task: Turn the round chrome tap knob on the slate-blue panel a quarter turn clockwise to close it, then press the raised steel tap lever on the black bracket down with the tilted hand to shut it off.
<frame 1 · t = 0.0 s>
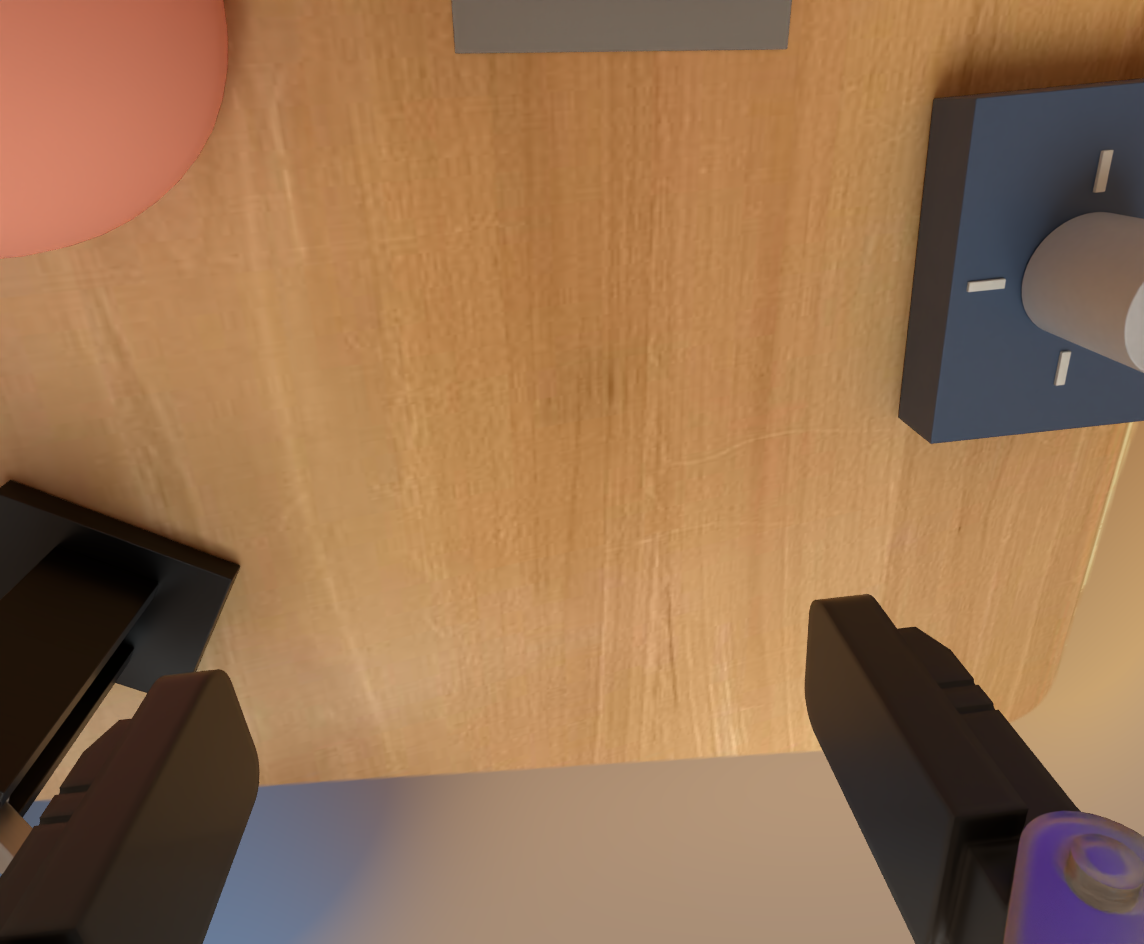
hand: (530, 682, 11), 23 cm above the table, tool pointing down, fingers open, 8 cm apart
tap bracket: (106, 591, 35), on the table
tap panel: (1031, 260, 32), on the table
tap lever: (47, 883, 24), point 14 cm above the table, hinge at 30.0°
tap knob: (1137, 292, 26), point 6 cm above the table, hinge at 0.0°
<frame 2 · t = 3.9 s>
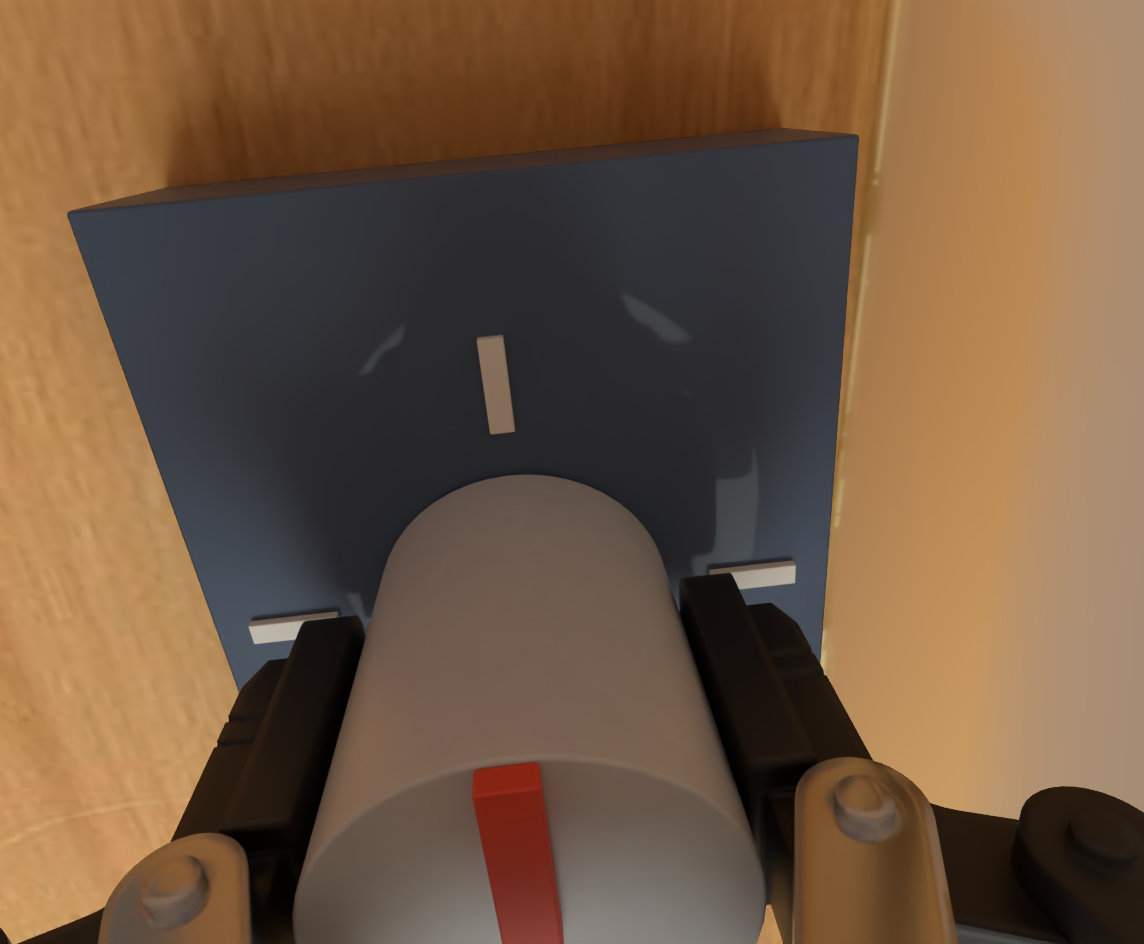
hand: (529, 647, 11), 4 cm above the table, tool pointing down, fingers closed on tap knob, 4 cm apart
tap panel: (523, 510, 15), on the table
tap knob: (529, 733, 10), point 6 cm above the table, hinge at 0.2°, touching gripper
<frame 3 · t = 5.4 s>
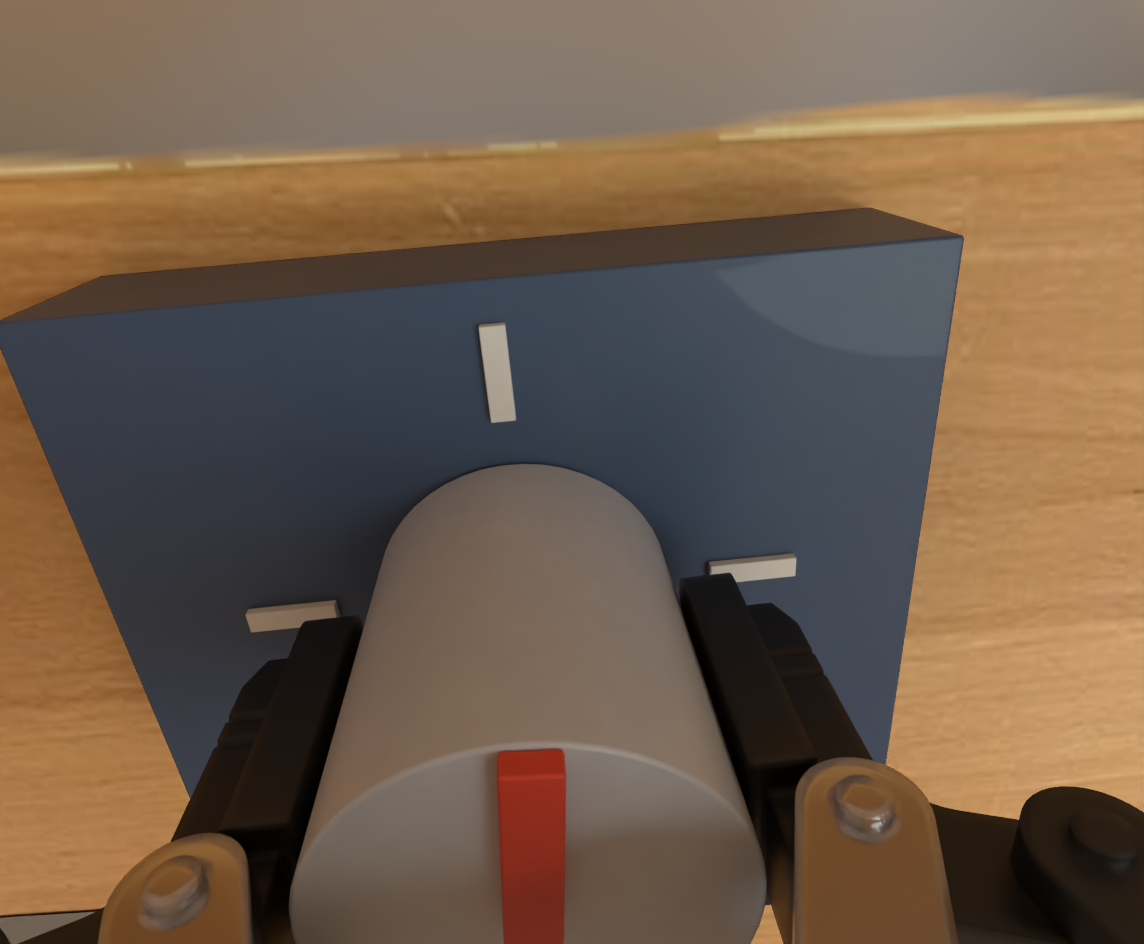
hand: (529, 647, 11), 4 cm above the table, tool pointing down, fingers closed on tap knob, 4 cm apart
tap panel: (522, 501, 15), on the table
tap knob: (528, 723, 10), point 6 cm above the table, hinge at -95.0°, touching gripper
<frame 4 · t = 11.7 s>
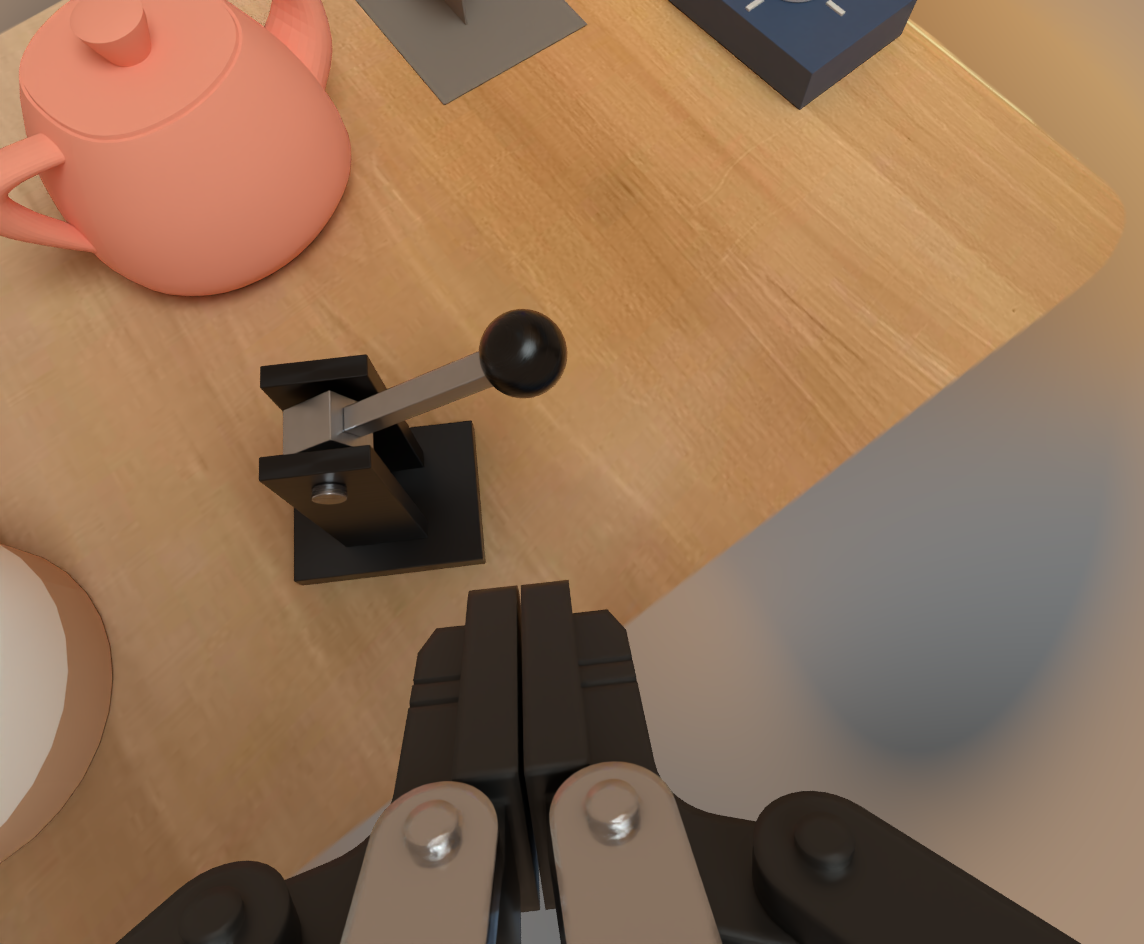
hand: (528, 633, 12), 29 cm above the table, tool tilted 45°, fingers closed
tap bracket: (390, 504, 43), on the table
tap panel: (783, 17, 54), on the table
tap lever: (420, 395, 30), point 14 cm above the table, hinge at 30.0°
teapot: (238, 188, 50), on the table
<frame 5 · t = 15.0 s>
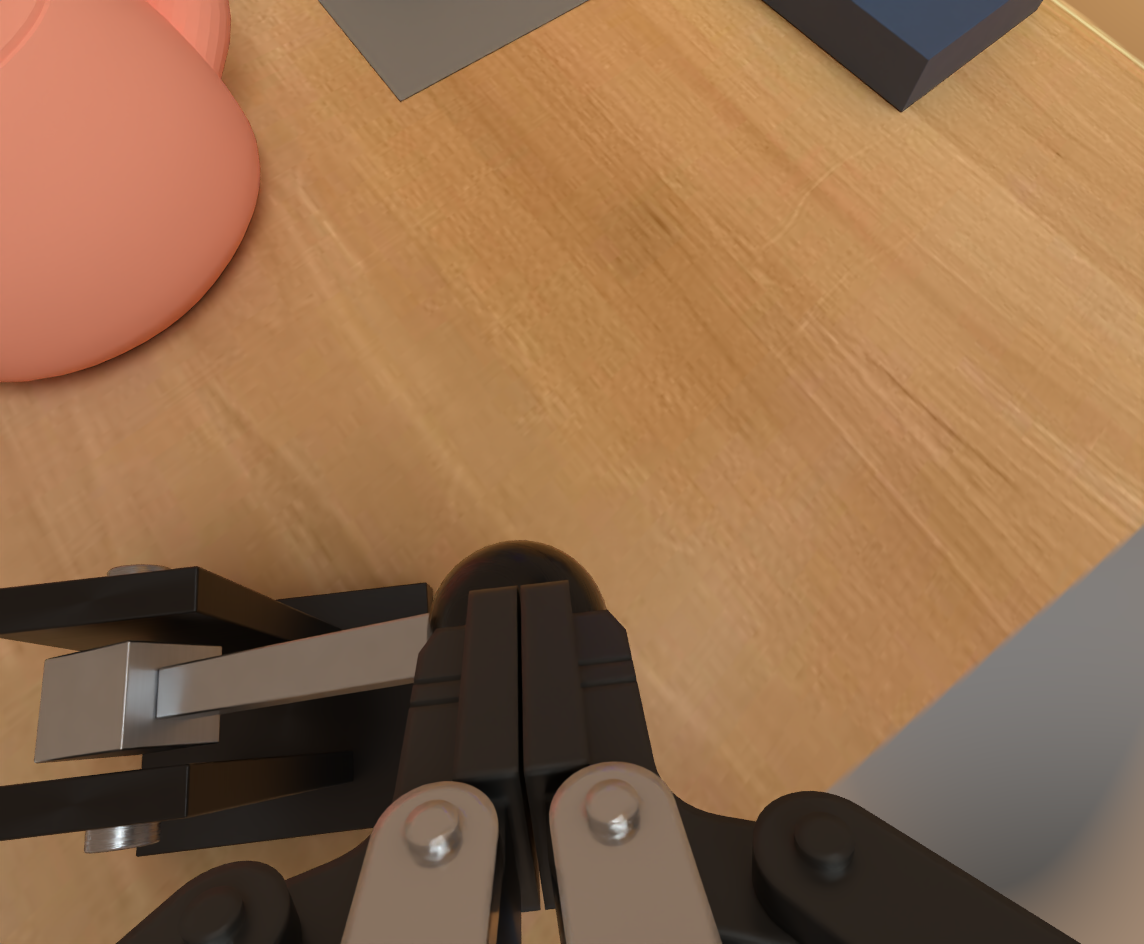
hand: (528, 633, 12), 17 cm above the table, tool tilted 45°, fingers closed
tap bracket: (300, 713, 28), on the table
tap lever: (306, 669, 15), point 13 cm above the table, hinge at 25.0°, touching gripper
teapot: (104, 217, 35), on the table
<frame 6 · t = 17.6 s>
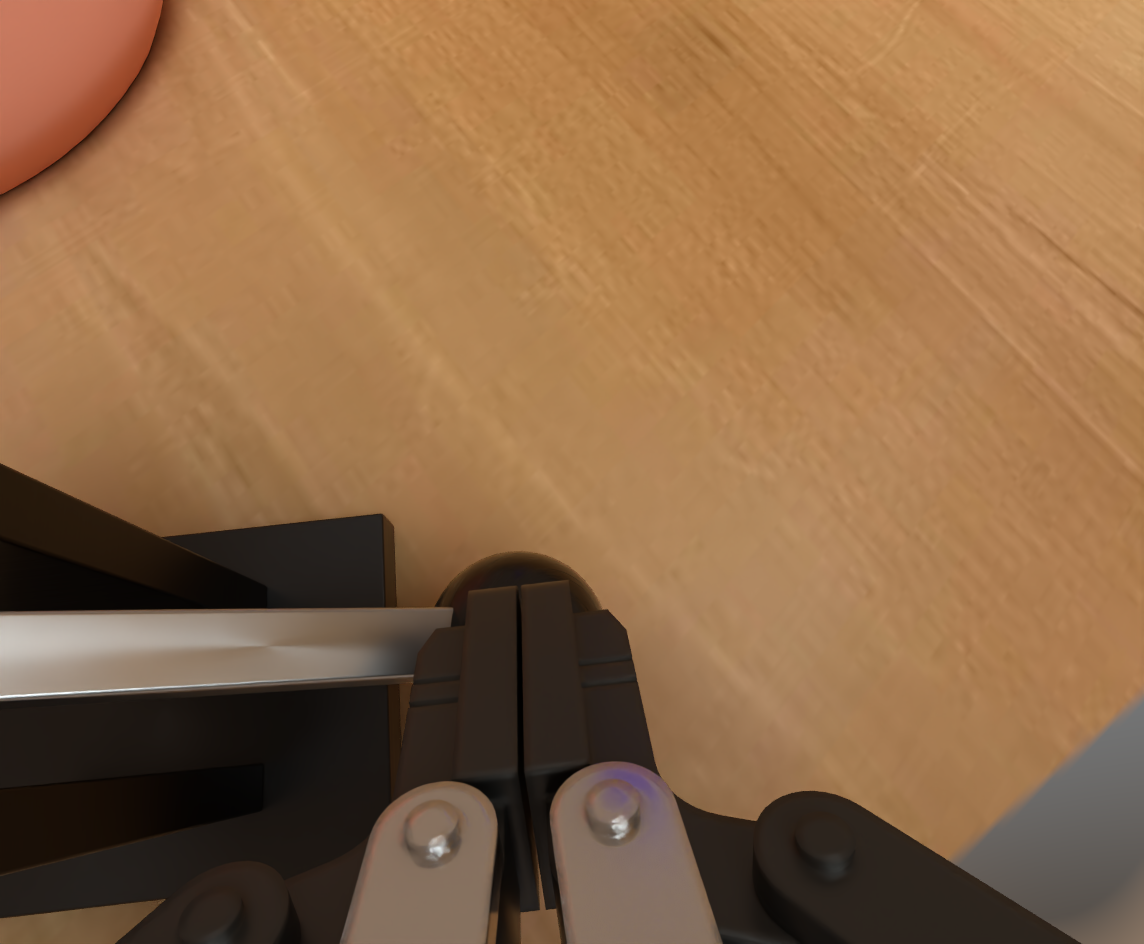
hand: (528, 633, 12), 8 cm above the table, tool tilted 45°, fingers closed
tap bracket: (194, 705, 19), on the table
tap lever: (216, 653, 11), point 8 cm above the table, hinge at -33.2°, touching gripper
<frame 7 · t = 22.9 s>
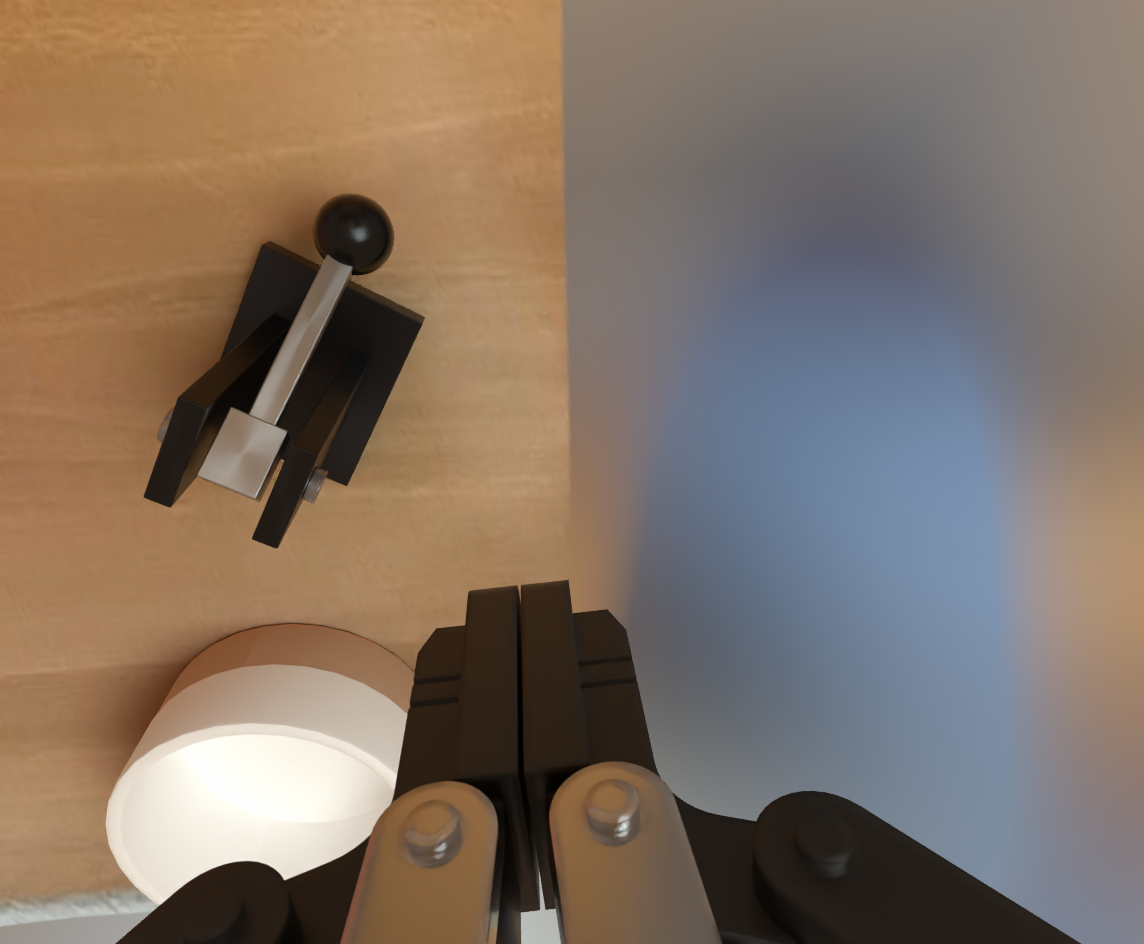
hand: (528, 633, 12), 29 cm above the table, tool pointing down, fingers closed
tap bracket: (313, 367, 39), on the table
bowl: (307, 727, 50), on the table
tap lever: (302, 339, 30), point 8 cm above the table, hinge at -33.6°
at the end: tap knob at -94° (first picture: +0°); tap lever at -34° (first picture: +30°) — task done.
